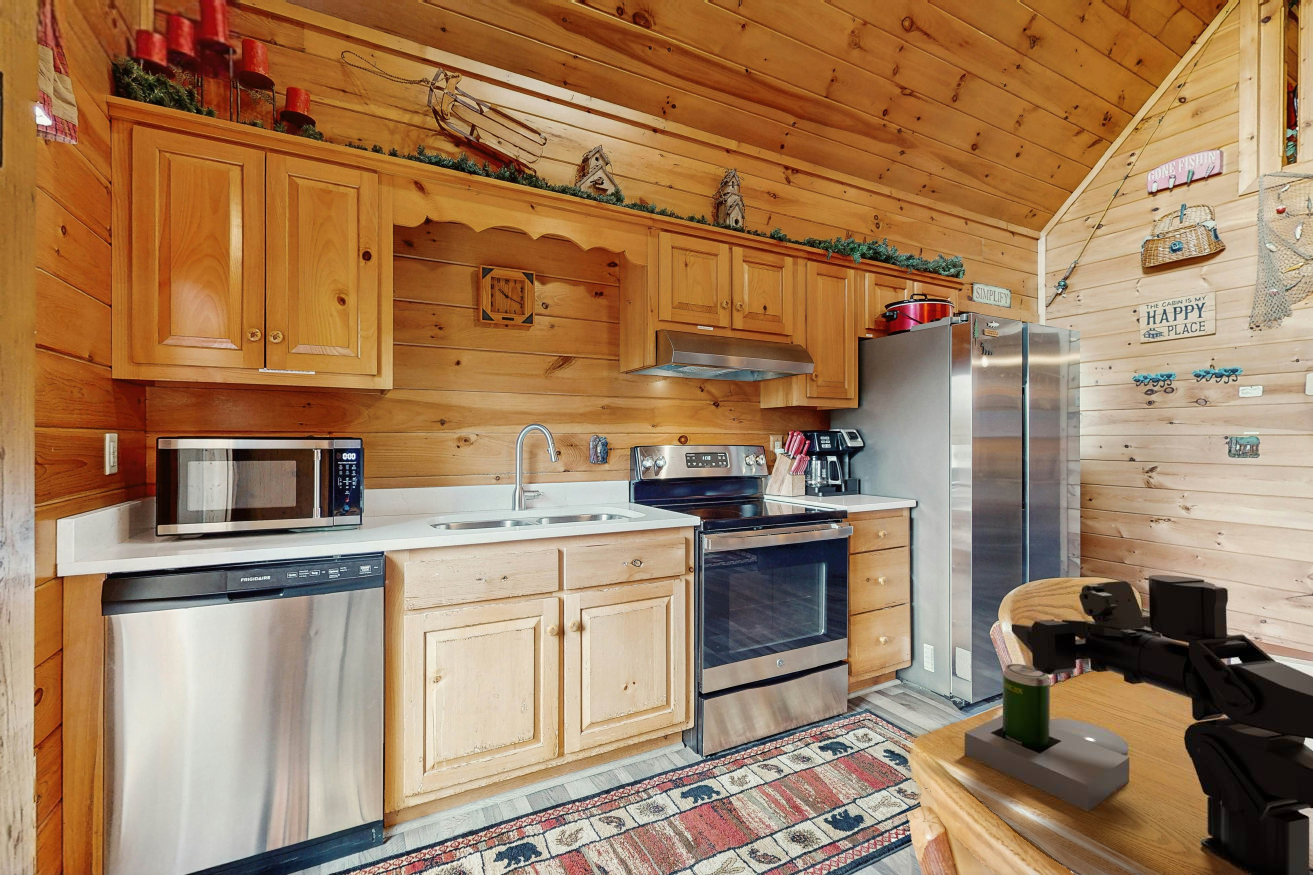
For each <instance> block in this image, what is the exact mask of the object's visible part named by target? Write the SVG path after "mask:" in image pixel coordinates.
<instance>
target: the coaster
mask: <svg viewBox="0 0 1313 875" xmlns="http://www.w3.org/2000/svg"><path fill="white" fill-rule="evenodd" d="M1050 728H1053V729H1056V730H1058V731H1061V732H1064V733H1066V734H1069V735H1072V736H1074V737H1077V738H1080V739H1082V740H1085V741H1088V742H1090V743H1093V744H1096V745H1098V746H1101V747H1104V748H1106V749H1109V750H1112V751H1114V752H1117V753H1120V754H1122V755H1125V756H1127V755H1128V753H1129V750H1130V749H1129V744H1128V742H1127V740H1126V739H1125V738H1124V737H1122V736H1121V735H1119V734H1117V733H1115V732H1113V731H1112V730H1109V729H1107V728H1104V727H1102V726H1099V725H1096V724H1094V723H1089V722H1085V721H1081V720H1077V719H1072V718H1071V719H1069V718H1050Z"/></svg>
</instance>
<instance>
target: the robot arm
mask: <svg viewBox="0 0 1313 875" xmlns="http://www.w3.org/2000/svg"><path fill="white" fill-rule="evenodd" d="M1147 578H1148V606H1149V607H1148V608H1149V609H1148V611H1149V612H1148V614H1149V615H1146V614H1143V613H1142V610H1141V607H1140V604H1139V602H1138V599H1137V597H1136V594H1135V592H1134V589H1133V587H1132V585H1131V584H1130V583H1129V582H1128V581H1126V580H1117V581H1106V582H1105V581H1104V582H1099V583H1093V584H1086V585H1083V586H1082V587H1081V592H1080V593H1079V596H1078V598H1079V600H1080V603H1081V606H1082V610H1083V613H1084V614H1085V615H1086V616H1087V617H1091V618H1092V620H1076V619H1074V620H1073V619H1062V620H1061V621H1060V620H1055V619H1054V618H1053V619H1042V620H1041V619H1040V620H1035V621H1034V622H1033V623H1032V625H1026V624H1019V623H1018V624H1017V623H1012V624H1011V632H1012V634H1014V636H1015V637H1016V638H1017V639H1018V640H1019V641H1020V642H1021V643H1022V644H1023V645H1024V647H1026V649H1028V651H1029V652H1030V653H1031V655H1032V656H1031V657H1032V666H1033V667H1034V668H1035V669H1036V670H1038V671H1040V672H1043V673H1046V674H1048V676H1050V675H1061V674H1069V673H1071V672H1072V671H1074V670H1075V669H1077V661H1078V660H1080V661H1081V660H1088V659H1089V661H1090V662H1089V663H1090V666H1089V667H1090V670H1091V671H1094V672H1097V673H1103V672H1105V673H1106V672H1112V673H1115V674H1118V675H1121V676H1123V682H1126V683H1128V684H1131V685H1138V684H1147V685H1150V686H1154V687H1156V688H1160V689H1161V690H1162V689H1163V690H1165V691H1168V692H1172V693H1174V694H1175V695H1177V694H1178V695H1180V696H1183V697H1186V698H1189V699H1191V715H1192V716H1191V717H1192V718H1193V719H1194V720H1195V721H1196V722H1194V723H1192V724H1190V725H1189V726H1188V727H1187V728H1186V730H1185V731H1184V735H1183V741H1184V746H1185V747H1184V748H1185V750H1186V752H1187V754H1188V756H1189V758H1190V759H1191V761H1192V764H1193V766H1194V770H1195V773H1196V776H1197V778H1198V781H1199V784H1200V787H1201V790H1202V792H1203V794H1204V795H1206V796H1207V797H1206V798H1207V799H1206V801H1207V804H1206V805H1207V808H1206V809H1207V816H1206V818H1207V819H1206V821H1207V822H1206V823H1207V824H1206V825H1207V827H1206V828H1207V835H1208V836H1209V837H1207V838H1202V839H1200V843H1201V844H1200V845H1201V846H1202V847H1203V848H1205V849H1206V850H1208V851H1209V852H1212V853H1214V854H1215V855H1217V856H1219V857H1220V858H1222V859H1224V860H1225V861H1228V862H1229V863H1231V864H1233V865H1234V866H1236V867H1238V868H1240V869H1242V871H1245V872H1246V873H1247V874H1250V875H1313V867H1312V866H1310V816H1308V815H1306V814H1305V813H1303V812H1300V811H1301V810H1306V809H1313V749H1311V748H1310V747H1309V746H1307V745H1306V744H1305V741H1306V739H1312V740H1313V676H1312V675H1310V674H1308V673H1305V672H1303V671H1301V670H1299V669H1296V668H1294V667H1292V666H1290V665H1287V664H1284V663H1282V662H1280V661H1279V662H1278V661H1276V660H1275V659H1274V658H1272V657H1271V656H1270V655H1269V654H1268V653H1266V652H1265V651H1264V650H1262V649H1261V648H1260V647H1259V646H1258V645H1257V644H1255V643H1254V642H1253V641H1252V640H1250V639H1249V638H1248V637H1247V636H1245V635H1244V634H1242V633H1241V634H1228V626H1227V624H1228V623H1227V621H1228V620H1227V605H1228V601H1229V596H1228V595H1229V592H1228V589H1227V587H1222V586H1217V585H1216V584H1215V583H1212V582H1208V581H1205V579H1201V578H1195V577H1188V576H1182V575H1181V576H1180V575H1167V574H1165V575H1164V574H1152V575H1148V577H1147ZM1163 637H1164V638H1163ZM1076 638H1078V639H1076ZM1182 642H1183V643H1182ZM1186 643H1188V644H1186ZM1225 659H1227V660H1228V659H1239V661H1240V662H1239V663H1230V664H1226V663H1225V662H1224V661H1223V660H1225ZM1224 715H1225V717H1223V716H1224Z"/></svg>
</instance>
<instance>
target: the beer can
mask: <svg viewBox="0 0 1313 875" xmlns="http://www.w3.org/2000/svg"><path fill="white" fill-rule="evenodd" d="M1048 676H1049V675H1048V674H1046V673H1043V672H1040V671H1038V670H1036V669H1035V668H1034V667H1033V665H1027V664H1022V663H1021V664H1020V663H1009V664H1006V665H1004V670H1003V672H1002V715H1003V739H1006V740H1008V741H1010V742H1013V743H1015V744H1018V745H1020V746H1023V747H1025V748H1027V749H1030V750H1032V751H1035V752H1037V753H1039V754H1040V753H1042V752H1044V751H1045V750H1047V749H1049V738H1050V719H1051V718H1050V717H1051V716H1050V715H1051V711H1050V708H1051V706H1050V704H1051V700H1050V698H1051V695H1050V694H1051V690H1050V689H1051V682H1050V680H1049V677H1048Z"/></svg>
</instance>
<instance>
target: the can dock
mask: <svg viewBox="0 0 1313 875" xmlns="http://www.w3.org/2000/svg"><path fill="white" fill-rule="evenodd" d="M964 755H965V756H967V757H968V758H972V760H975V761H978V762H980V763H982V764H983V765H986V766H989V767H991V768H993V769H995V770H996V771H999V772H1001V773H1004V774H1006V775H1007V776H1010V777H1012V778H1015V779H1017V780H1018V781H1021V782H1023V783H1026V784H1027V785H1030V786H1032V787H1034V788H1036V789H1038V790H1040V791H1043V792H1044V793H1047V794H1049V795H1052V796H1053V797H1056V798H1058V799H1059V800H1062V801H1064V802H1066V803H1068V804H1071V805H1072V806H1075V807H1076V808H1079V809H1082V810H1083V811H1086V812H1089V811H1091V810H1092V809H1094V808H1095V807H1096V806H1098V805H1099V804H1100V803H1102V802H1103V801H1105V800H1106V799H1107V798H1108V797H1109V796H1112V794H1113V793H1115V792H1117V791H1118V790H1119V789H1120V788H1122V787H1123V786H1125V785H1126V784H1127V783H1128V782H1130V756H1127V755H1122V754H1120V753H1117V752H1114V751H1112V750H1109V749H1106V748H1104V747H1101V746H1098V745H1096V744H1093V743H1090V742H1088V741H1085V740H1082V739H1080V738H1077V737H1074V736H1072V735H1069V734H1066V733H1064V732H1061V731H1058V730H1056V729H1053V728H1050V738H1049V749H1047V750H1045V751H1044V752H1042V753H1040V754H1039V753H1037V752H1035V751H1032V750H1030V749H1027V748H1025V747H1023V746H1020V745H1018V744H1015V743H1013V742H1010V741H1008V740H1006V739H1003V714H1001V715H999V716H998V717H995V718H994V719H991V720H989V721H987V722H984V723H982V724H980V725H978V726H976V727H974V728H971V729H969V730H967V731H965V732H964Z"/></svg>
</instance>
